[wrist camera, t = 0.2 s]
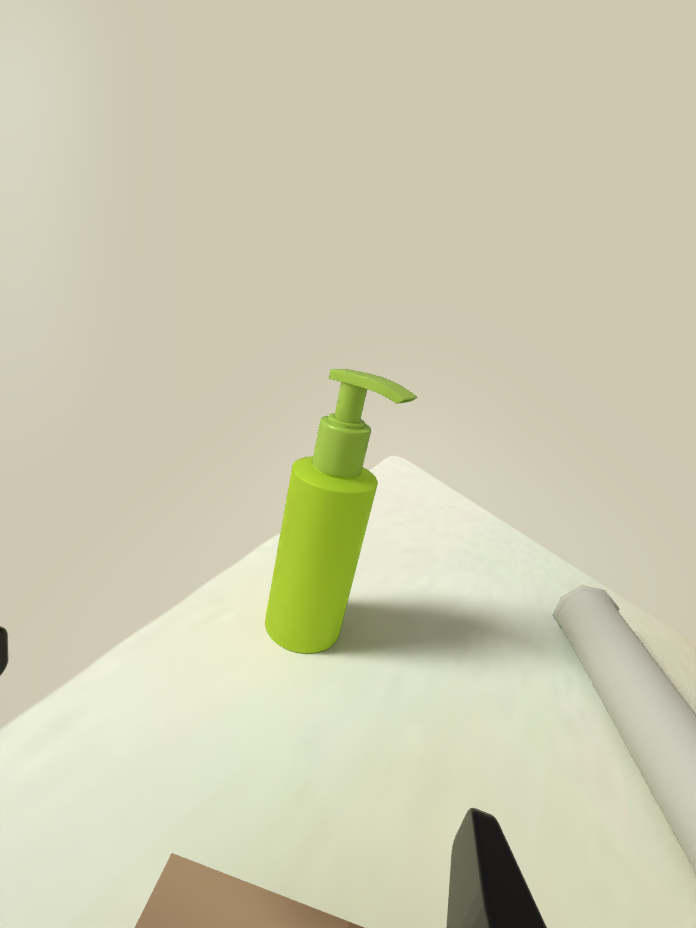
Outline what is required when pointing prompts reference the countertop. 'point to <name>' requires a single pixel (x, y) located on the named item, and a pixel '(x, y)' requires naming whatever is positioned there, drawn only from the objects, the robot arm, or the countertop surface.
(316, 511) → the soap dispenser
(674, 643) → the countertop surface
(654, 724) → the tube
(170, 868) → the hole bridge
